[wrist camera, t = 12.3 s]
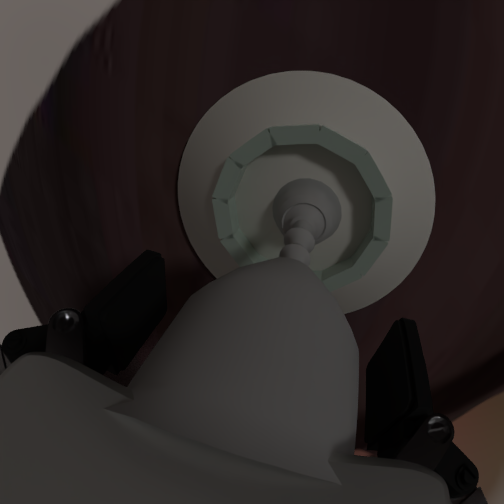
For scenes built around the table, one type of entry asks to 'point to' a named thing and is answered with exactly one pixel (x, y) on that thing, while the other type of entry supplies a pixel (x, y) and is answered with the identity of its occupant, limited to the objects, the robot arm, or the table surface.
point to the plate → (315, 167)
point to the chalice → (262, 354)
